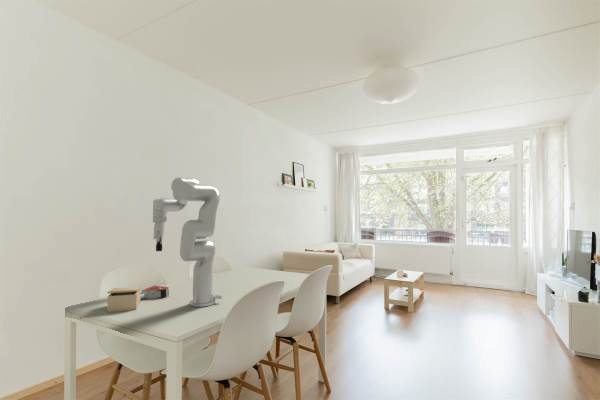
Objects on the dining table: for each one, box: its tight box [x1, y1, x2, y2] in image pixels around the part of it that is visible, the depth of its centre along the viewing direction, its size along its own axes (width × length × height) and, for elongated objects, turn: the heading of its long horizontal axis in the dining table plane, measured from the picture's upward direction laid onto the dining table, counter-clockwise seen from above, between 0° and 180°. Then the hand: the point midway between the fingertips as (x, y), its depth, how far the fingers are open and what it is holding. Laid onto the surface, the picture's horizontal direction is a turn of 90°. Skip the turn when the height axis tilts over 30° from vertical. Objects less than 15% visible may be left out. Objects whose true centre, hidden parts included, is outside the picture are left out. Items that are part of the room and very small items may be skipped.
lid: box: [107, 286, 141, 294], centre depth 155 cm, size 12×12×1 cm
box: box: [106, 289, 142, 313], centre depth 155 cm, size 12×12×7 cm
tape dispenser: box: [140, 285, 170, 300], centre depth 172 cm, size 18×5×20 cm
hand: (159, 250), depth 189 cm, fingers closed
